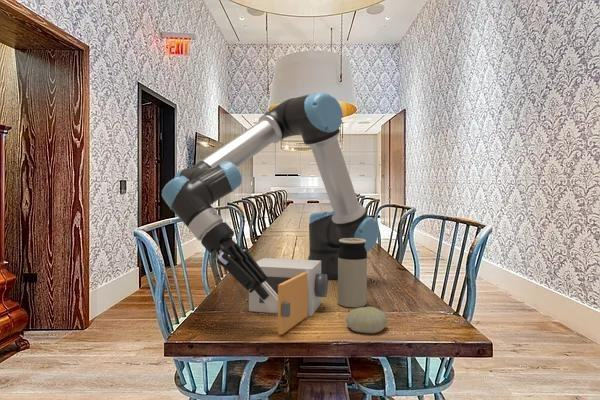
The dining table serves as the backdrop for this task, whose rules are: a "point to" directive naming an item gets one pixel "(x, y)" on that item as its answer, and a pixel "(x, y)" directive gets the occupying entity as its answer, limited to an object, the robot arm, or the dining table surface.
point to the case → (286, 270)
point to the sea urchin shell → (366, 320)
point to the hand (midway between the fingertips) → (278, 307)
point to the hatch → (292, 302)
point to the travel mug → (352, 273)
